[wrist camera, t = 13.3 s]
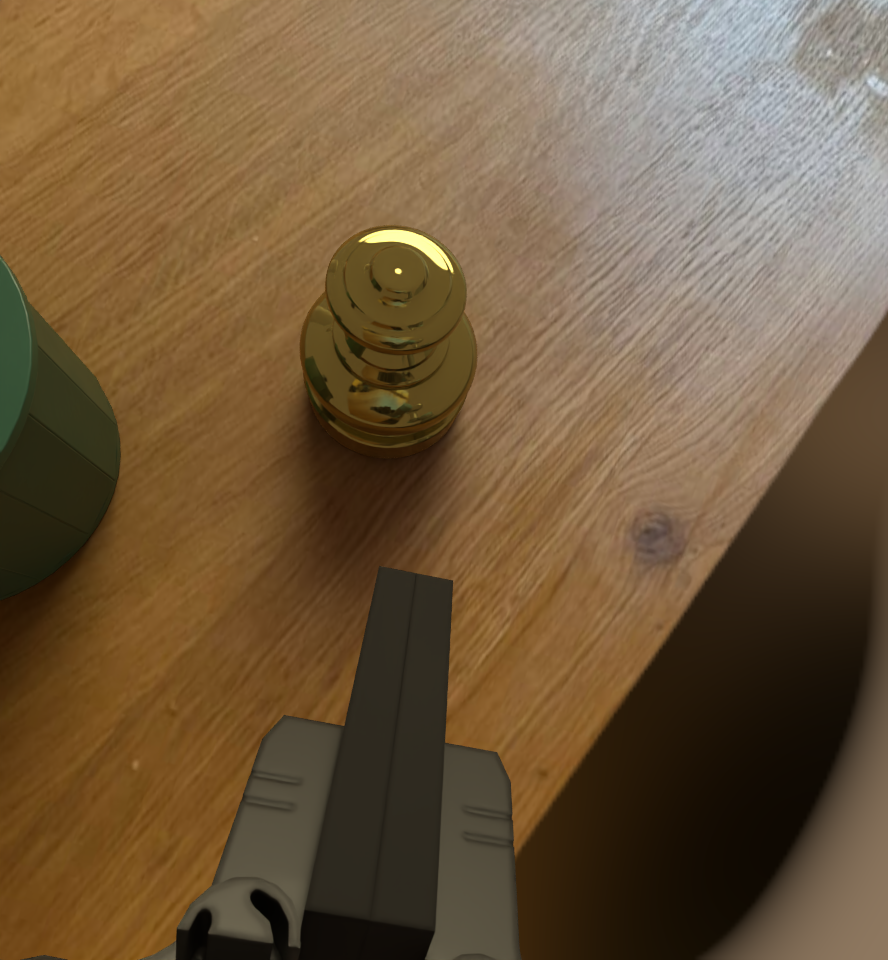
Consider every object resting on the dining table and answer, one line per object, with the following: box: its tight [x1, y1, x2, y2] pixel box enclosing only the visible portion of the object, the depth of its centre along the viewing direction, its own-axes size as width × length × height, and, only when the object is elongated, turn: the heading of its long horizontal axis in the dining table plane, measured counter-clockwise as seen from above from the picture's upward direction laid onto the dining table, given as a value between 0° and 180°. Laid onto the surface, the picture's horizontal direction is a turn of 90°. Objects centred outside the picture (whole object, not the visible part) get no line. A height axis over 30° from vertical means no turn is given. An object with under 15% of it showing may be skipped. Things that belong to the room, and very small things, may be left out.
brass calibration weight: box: [300, 225, 477, 458], centre depth 27 cm, size 7×7×10 cm
